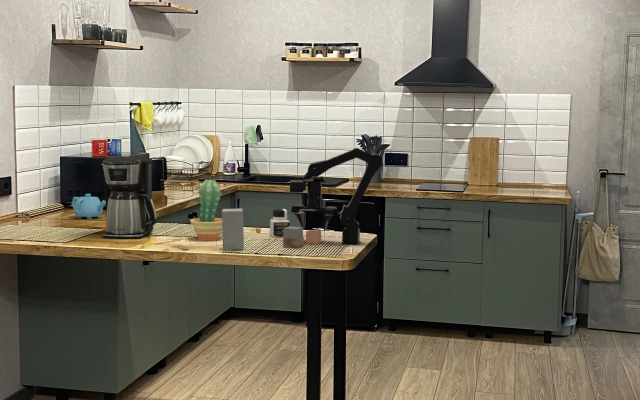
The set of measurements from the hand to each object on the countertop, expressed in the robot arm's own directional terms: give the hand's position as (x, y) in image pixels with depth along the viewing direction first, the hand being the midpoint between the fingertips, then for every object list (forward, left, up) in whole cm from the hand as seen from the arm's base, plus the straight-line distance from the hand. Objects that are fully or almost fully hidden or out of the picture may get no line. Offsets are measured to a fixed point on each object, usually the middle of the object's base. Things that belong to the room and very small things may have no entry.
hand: (314, 230), depth 361 cm
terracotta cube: (0, 0, -5) cm, 5 cm away
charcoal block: (+4, +13, -2) cm, 14 cm away
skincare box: (+24, +28, -5) cm, 37 cm away
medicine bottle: (+19, -10, -5) cm, 22 cm away
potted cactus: (+44, +9, -5) cm, 45 cm away
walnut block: (+4, +13, -6) cm, 15 cm away
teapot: (+126, -27, -5) cm, 129 cm away
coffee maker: (+78, +10, -6) cm, 79 cm away
